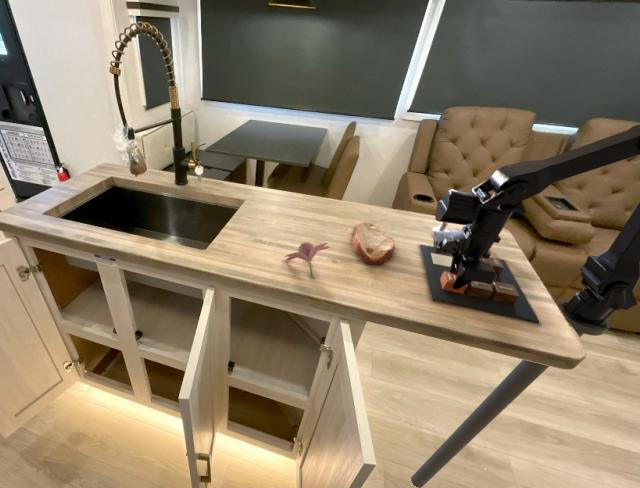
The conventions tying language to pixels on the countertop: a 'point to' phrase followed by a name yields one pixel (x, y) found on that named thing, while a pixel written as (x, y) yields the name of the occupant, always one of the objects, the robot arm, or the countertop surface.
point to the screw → (440, 228)
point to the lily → (307, 252)
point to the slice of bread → (372, 243)
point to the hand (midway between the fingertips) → (452, 282)
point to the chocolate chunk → (494, 264)
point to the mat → (441, 263)
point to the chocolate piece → (479, 289)
